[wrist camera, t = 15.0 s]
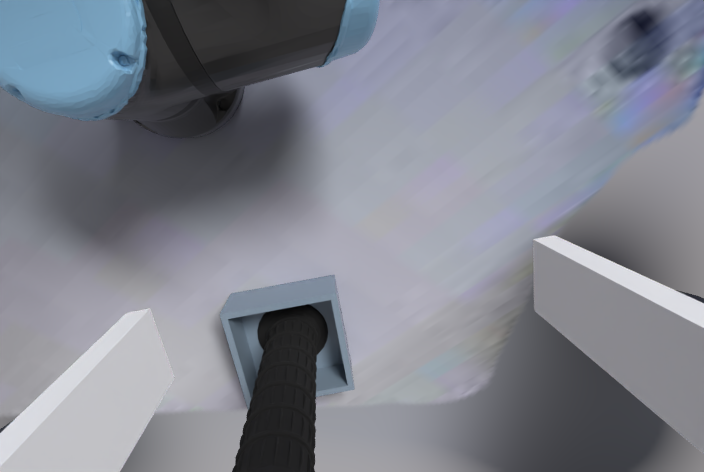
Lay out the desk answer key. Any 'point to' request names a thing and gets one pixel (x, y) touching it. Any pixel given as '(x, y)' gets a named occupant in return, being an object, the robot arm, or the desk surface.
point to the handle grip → (284, 393)
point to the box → (253, 304)
